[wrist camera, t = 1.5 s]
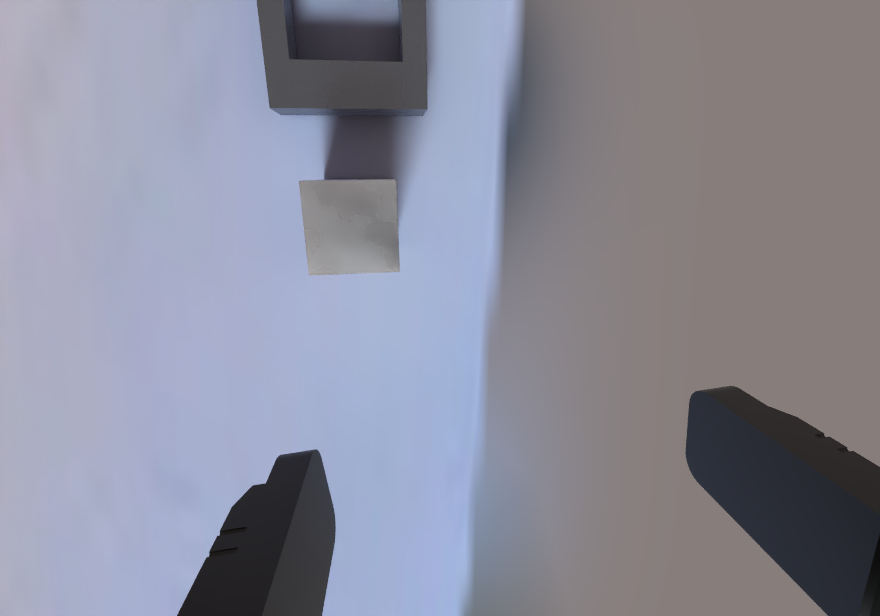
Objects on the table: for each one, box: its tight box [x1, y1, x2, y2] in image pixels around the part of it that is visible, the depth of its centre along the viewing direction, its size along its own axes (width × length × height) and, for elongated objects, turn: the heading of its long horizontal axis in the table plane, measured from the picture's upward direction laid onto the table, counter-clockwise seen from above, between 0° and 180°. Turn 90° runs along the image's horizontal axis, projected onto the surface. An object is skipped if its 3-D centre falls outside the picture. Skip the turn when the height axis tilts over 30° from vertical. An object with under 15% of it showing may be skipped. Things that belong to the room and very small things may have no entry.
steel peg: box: [299, 179, 400, 275], centre depth 22 cm, size 4×4×8 cm
